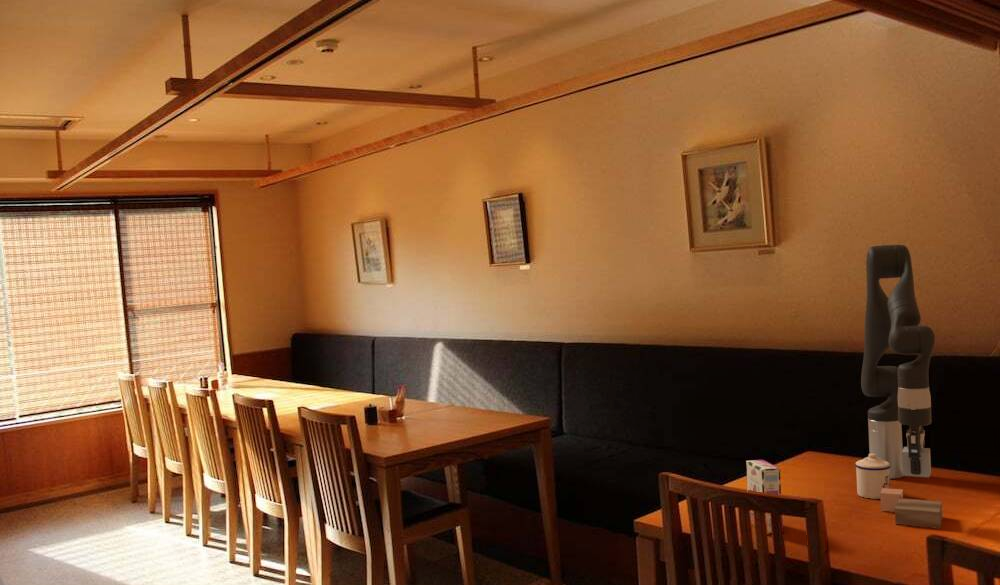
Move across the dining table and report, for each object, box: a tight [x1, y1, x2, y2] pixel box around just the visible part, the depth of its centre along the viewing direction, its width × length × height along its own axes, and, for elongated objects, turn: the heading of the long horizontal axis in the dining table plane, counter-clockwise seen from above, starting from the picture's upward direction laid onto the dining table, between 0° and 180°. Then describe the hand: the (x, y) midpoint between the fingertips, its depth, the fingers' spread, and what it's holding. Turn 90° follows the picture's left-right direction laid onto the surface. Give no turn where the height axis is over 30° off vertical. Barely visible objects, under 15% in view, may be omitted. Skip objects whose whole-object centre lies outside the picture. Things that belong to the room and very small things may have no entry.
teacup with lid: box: [854, 453, 891, 500], centre depth 244 cm, size 12×9×12 cm
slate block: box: [902, 446, 932, 478], centre depth 218 cm, size 6×6×6 cm
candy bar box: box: [745, 459, 782, 535], centre depth 220 cm, size 11×5×16 cm, turn 5°
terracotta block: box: [880, 488, 904, 513], centre depth 229 cm, size 5×5×5 cm
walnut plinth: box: [894, 497, 943, 529], centre depth 219 cm, size 10×10×4 cm
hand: (917, 470), depth 219 cm, fingers closed on slate block, 6 cm apart
